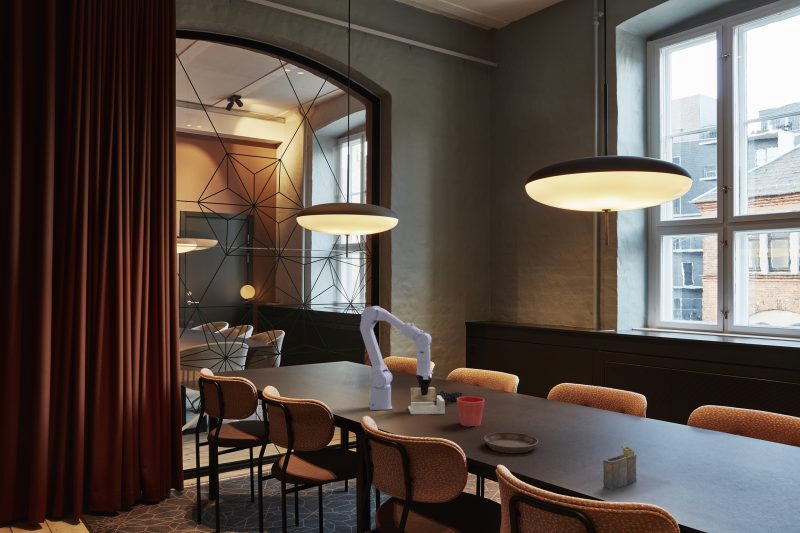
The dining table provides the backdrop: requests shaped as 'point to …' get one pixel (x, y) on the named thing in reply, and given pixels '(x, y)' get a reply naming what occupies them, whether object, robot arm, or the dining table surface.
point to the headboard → (428, 407)
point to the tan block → (418, 396)
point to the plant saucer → (510, 442)
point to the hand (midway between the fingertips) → (423, 394)
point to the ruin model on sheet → (620, 469)
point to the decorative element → (449, 396)
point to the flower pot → (470, 410)
